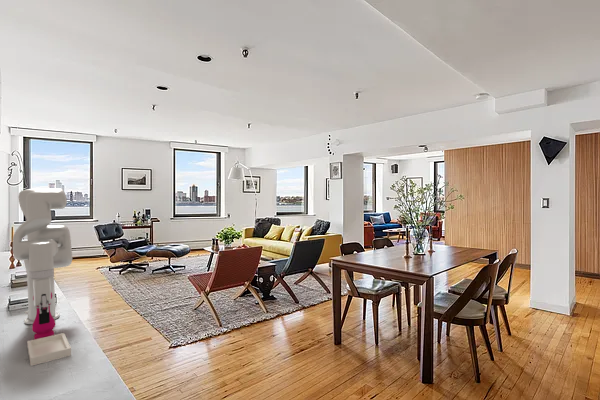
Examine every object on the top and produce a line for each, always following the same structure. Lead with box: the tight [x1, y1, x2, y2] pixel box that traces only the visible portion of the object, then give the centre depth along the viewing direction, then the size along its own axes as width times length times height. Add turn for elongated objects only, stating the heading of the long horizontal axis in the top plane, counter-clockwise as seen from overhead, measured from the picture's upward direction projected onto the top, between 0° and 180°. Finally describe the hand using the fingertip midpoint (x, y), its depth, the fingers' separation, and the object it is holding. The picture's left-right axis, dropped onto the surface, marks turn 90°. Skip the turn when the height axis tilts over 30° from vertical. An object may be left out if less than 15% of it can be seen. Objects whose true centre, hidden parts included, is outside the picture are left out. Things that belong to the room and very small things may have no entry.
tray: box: [26, 332, 72, 367], centre depth 123 cm, size 18×11×2 cm, turn 40°
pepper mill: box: [31, 292, 56, 340], centre depth 135 cm, size 7×7×20 cm
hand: (43, 320), depth 135 cm, fingers closed on pepper mill, 5 cm apart
